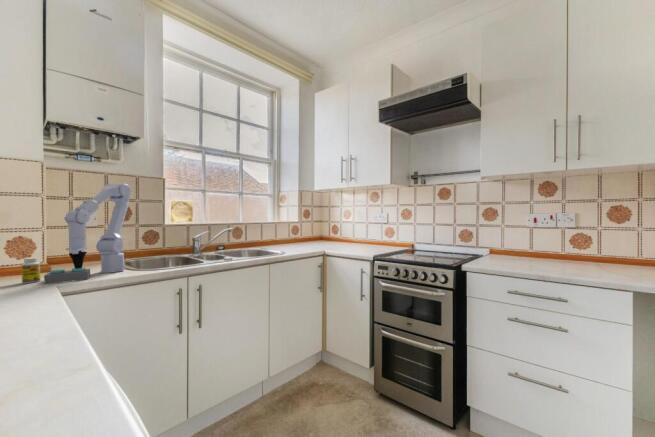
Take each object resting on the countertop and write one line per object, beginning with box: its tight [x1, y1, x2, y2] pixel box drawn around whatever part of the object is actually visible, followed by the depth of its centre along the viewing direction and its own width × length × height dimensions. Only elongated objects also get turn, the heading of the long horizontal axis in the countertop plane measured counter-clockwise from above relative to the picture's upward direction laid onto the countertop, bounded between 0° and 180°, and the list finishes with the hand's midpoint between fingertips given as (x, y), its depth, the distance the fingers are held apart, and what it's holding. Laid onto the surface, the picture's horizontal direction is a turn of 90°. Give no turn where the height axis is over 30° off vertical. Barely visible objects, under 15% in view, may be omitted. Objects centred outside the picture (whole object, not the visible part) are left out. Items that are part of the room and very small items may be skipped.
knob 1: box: [50, 268, 66, 274], centre depth 129 cm, size 5×5×4 cm
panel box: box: [43, 268, 91, 284], centre depth 131 cm, size 14×8×3 cm, turn 122°
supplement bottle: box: [21, 256, 41, 284], centre depth 127 cm, size 6×6×10 cm
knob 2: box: [71, 266, 86, 272], centre depth 133 cm, size 5×5×4 cm
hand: (78, 268), depth 133 cm, fingers closed, pressing on knob 2
